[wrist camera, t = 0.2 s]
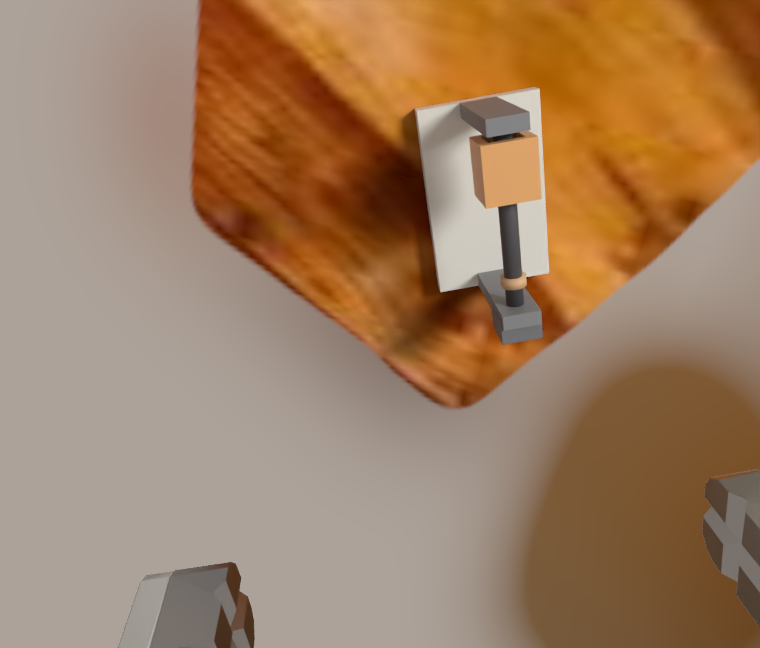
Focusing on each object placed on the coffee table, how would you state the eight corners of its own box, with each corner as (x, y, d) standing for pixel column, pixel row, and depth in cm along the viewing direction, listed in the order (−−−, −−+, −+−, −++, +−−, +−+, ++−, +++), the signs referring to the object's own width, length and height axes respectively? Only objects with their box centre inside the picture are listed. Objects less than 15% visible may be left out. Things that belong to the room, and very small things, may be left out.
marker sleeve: (468, 136, 48) (480, 146, 44) (522, 127, 48) (538, 136, 44) (474, 195, 50) (486, 208, 46) (526, 185, 50) (541, 199, 46)
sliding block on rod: (414, 108, 53) (433, 128, 43) (534, 87, 53) (581, 102, 43) (439, 299, 61) (461, 354, 51) (544, 281, 61) (587, 332, 51)
